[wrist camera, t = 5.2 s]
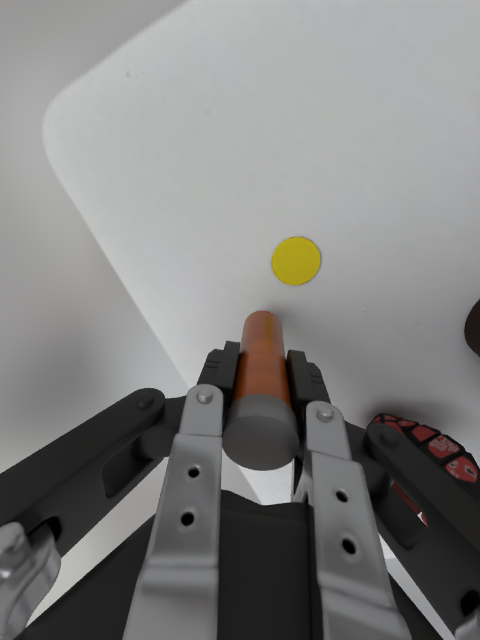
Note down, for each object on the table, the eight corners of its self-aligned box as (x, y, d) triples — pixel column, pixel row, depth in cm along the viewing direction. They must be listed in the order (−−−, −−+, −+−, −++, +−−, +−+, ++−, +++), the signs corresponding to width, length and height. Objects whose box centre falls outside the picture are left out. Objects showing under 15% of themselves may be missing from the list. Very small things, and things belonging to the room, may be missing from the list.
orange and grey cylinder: (245, 305, 16) (224, 408, 8) (286, 311, 16) (307, 421, 8) (240, 341, 17) (217, 464, 9) (279, 347, 17) (291, 476, 9)
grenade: (431, 437, 23) (545, 592, 14) (338, 441, 24) (385, 588, 15) (439, 392, 21) (578, 538, 12) (338, 399, 22) (392, 538, 13)
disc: (294, 226, 16) (294, 226, 16) (330, 258, 17) (330, 258, 17) (262, 264, 18) (262, 265, 18) (296, 293, 18) (296, 294, 18)
